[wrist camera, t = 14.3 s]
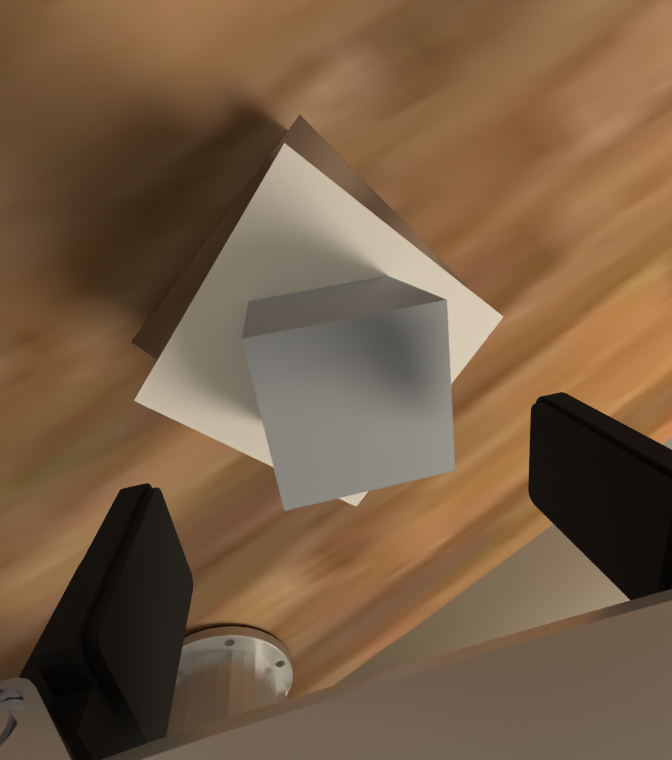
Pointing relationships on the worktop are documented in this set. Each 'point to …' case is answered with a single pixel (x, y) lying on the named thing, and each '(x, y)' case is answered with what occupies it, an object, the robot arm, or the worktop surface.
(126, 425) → the worktop surface
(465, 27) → the worktop surface
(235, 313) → the off-white top block
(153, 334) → the walnut base block
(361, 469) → the slate-grey cube
